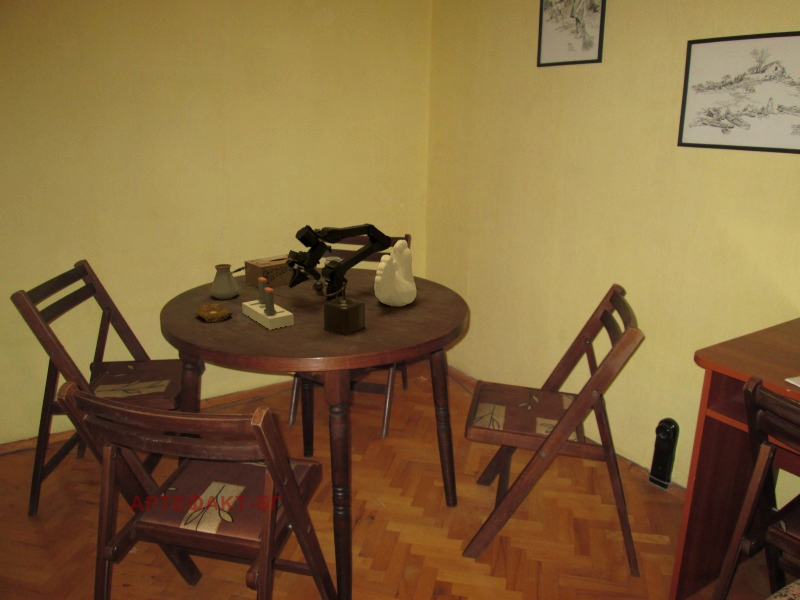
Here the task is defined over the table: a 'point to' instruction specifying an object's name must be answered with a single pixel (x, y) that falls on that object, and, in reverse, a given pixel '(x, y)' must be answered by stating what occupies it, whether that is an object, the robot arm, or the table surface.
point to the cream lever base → (269, 321)
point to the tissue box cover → (269, 271)
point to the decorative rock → (213, 313)
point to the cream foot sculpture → (396, 277)
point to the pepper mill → (341, 311)
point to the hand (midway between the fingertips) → (289, 287)
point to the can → (331, 260)
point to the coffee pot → (225, 282)
